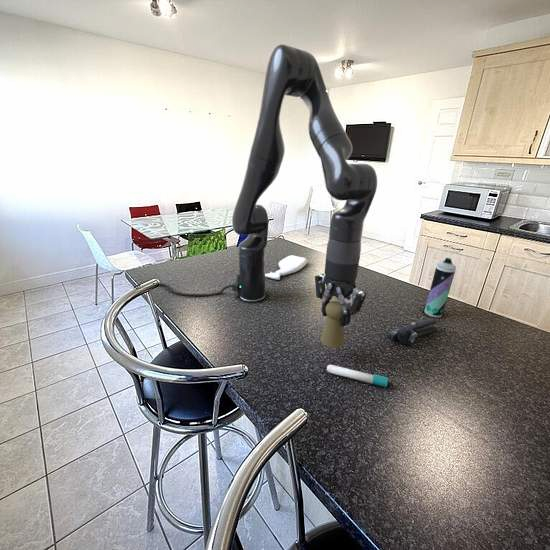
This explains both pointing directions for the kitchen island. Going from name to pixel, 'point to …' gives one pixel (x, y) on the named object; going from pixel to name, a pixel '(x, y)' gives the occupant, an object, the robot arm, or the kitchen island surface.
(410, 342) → the can opener
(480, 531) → the kitchen island surface
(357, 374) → the marker
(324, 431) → the kitchen island surface
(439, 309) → the spray can
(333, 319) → the cork
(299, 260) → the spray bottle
